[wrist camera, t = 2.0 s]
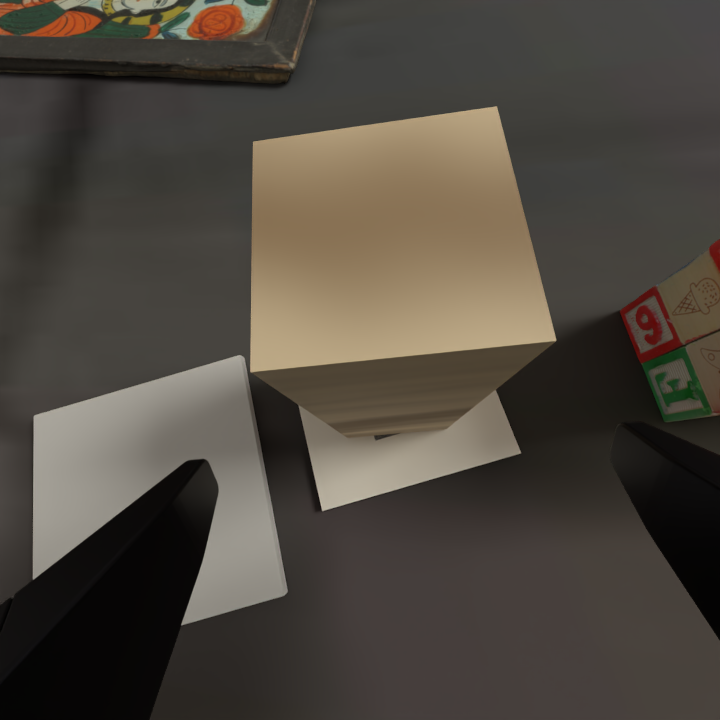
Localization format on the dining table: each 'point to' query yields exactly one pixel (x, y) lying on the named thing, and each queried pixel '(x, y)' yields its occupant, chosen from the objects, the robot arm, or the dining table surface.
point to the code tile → (403, 453)
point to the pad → (163, 476)
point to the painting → (155, 38)
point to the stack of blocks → (681, 338)
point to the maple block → (392, 272)
